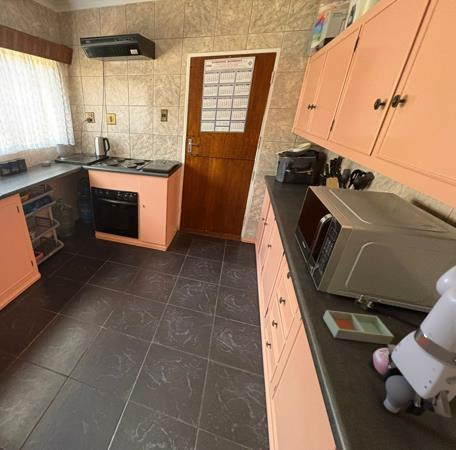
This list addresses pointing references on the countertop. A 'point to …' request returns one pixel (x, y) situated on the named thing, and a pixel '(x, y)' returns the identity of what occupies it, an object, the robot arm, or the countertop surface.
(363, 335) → the tray
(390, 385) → the light bulb
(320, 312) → the countertop surface
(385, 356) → the onion
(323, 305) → the countertop surface
